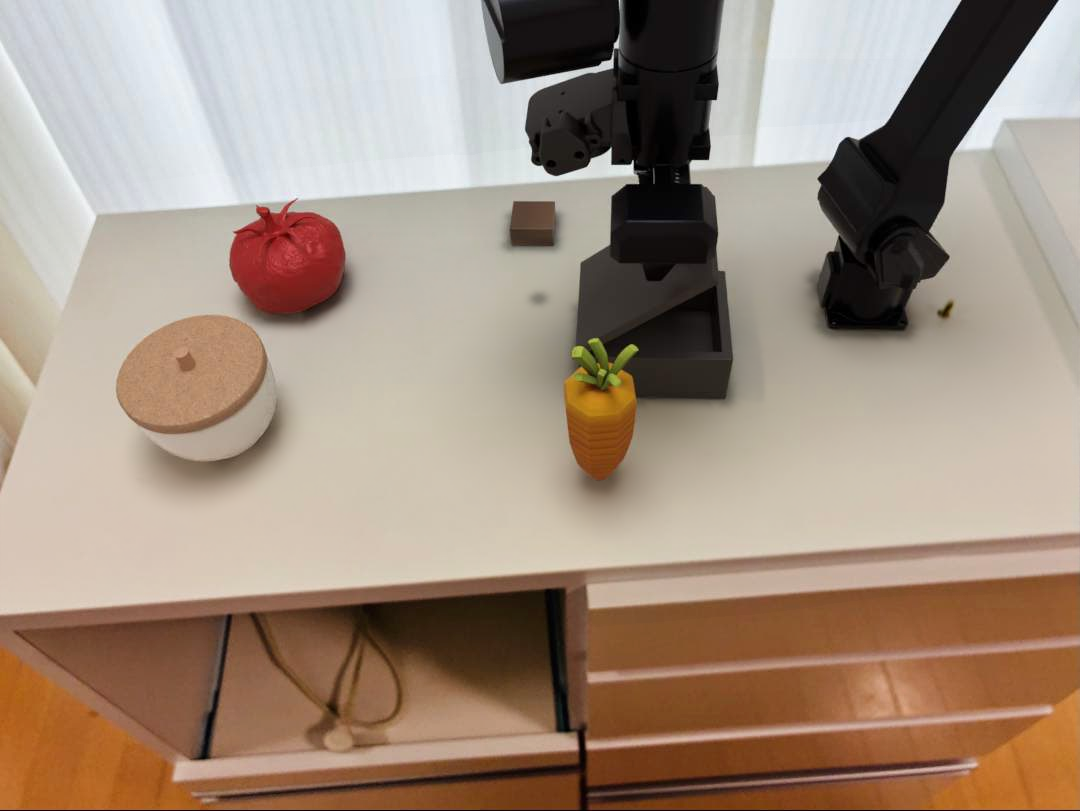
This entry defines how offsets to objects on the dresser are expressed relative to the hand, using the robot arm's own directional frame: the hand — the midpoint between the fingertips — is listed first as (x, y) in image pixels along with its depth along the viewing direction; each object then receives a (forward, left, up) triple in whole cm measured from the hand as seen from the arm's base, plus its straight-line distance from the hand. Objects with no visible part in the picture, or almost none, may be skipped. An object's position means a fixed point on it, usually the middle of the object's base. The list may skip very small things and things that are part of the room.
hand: (653, 249), depth 60 cm
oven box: (0, 0, -11) cm, 11 cm away
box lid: (0, 0, -2) cm, 2 cm away
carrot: (+4, +12, -12) cm, 17 cm away
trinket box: (+34, +9, -12) cm, 37 cm away
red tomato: (+32, -7, -12) cm, 34 cm away
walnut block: (+11, -15, -11) cm, 22 cm away
